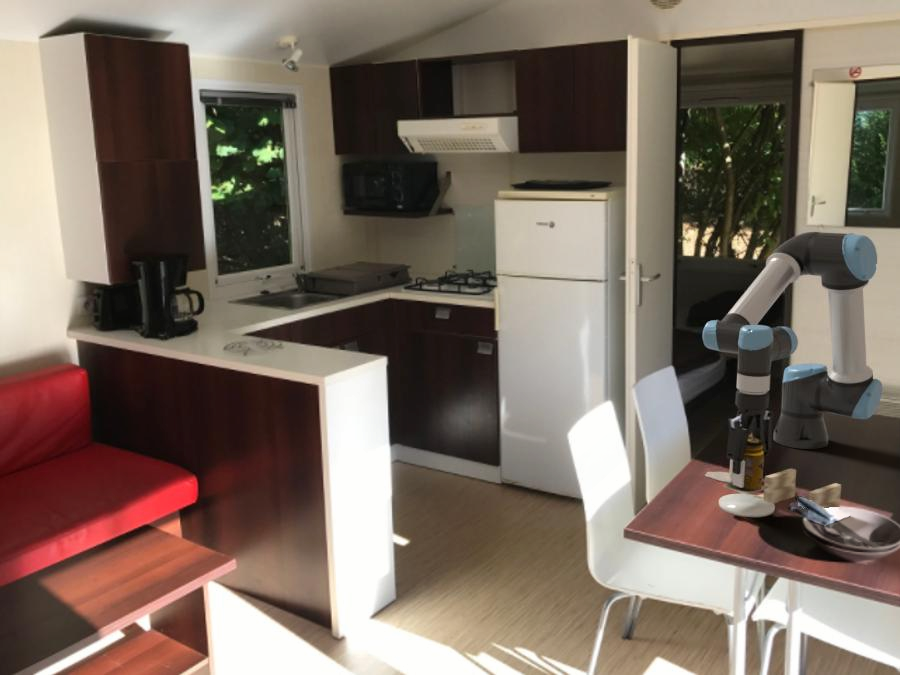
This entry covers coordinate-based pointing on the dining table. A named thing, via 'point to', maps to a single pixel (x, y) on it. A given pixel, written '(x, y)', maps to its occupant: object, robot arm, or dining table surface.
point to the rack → (785, 488)
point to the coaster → (746, 505)
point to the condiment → (751, 468)
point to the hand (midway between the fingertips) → (747, 482)
